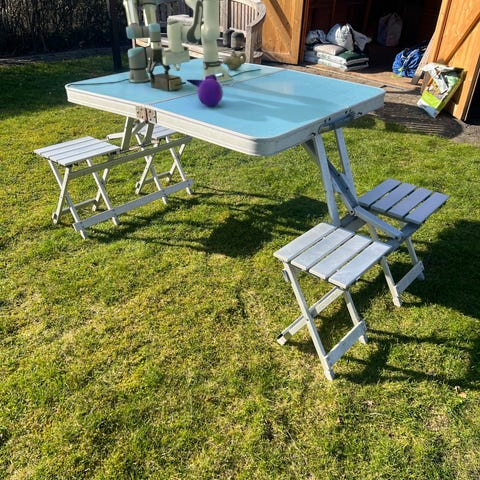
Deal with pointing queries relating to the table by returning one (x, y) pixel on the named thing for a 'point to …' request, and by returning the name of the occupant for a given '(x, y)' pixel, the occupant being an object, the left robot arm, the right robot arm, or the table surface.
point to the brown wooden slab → (163, 81)
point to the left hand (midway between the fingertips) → (160, 81)
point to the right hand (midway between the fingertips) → (177, 70)
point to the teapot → (234, 60)
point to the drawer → (176, 84)
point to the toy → (208, 90)
